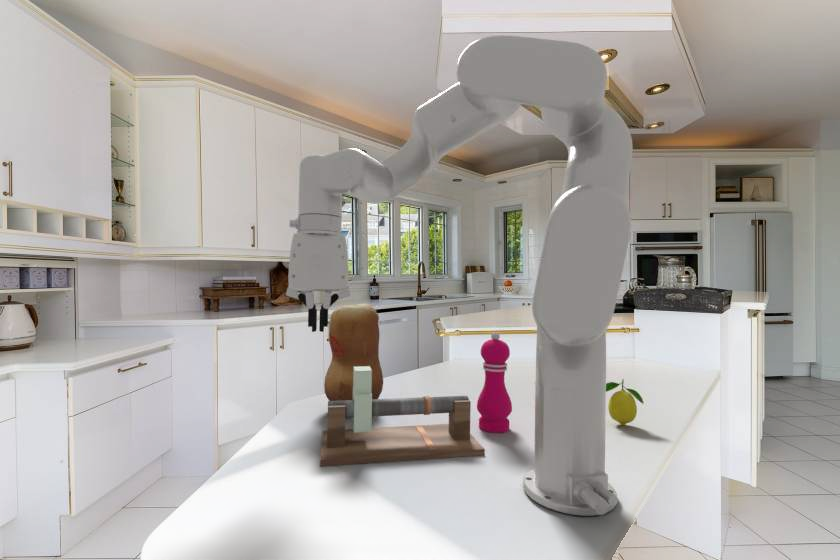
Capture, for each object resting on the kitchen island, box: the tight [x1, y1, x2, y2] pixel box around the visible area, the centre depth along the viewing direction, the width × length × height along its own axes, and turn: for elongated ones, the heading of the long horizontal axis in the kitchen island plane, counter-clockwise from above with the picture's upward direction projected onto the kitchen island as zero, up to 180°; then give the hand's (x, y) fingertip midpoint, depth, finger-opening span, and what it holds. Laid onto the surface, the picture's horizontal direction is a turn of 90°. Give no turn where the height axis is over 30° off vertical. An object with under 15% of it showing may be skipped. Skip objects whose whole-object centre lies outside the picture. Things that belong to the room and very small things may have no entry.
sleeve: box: [351, 366, 373, 433], centre depth 76 cm, size 6×3×10 cm, turn 12°
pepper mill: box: [476, 331, 513, 434], centre depth 87 cm, size 7×7×20 cm
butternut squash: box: [323, 303, 384, 401], centre depth 97 cm, size 14×13×25 cm
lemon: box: [606, 378, 644, 426], centre depth 90 cm, size 7×6×10 cm
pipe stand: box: [319, 395, 486, 467], centre depth 77 cm, size 14×28×9 cm, turn 102°
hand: (317, 330), depth 74 cm, fingers closed
